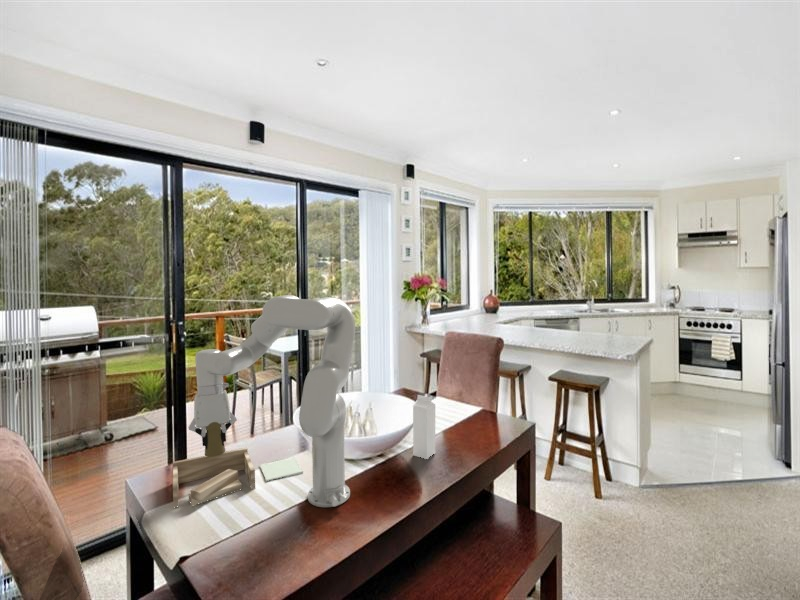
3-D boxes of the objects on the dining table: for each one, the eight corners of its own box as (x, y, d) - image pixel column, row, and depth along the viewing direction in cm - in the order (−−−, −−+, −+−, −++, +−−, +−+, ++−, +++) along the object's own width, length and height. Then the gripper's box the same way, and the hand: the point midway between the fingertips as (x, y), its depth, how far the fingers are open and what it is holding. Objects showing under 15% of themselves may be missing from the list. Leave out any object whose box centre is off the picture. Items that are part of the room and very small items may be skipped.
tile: (303, 473, 138) (303, 471, 138) (266, 481, 132) (266, 480, 132) (294, 458, 149) (294, 457, 149) (259, 466, 143) (259, 464, 143)
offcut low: (241, 491, 128) (241, 483, 128) (192, 508, 119) (192, 499, 119) (237, 486, 131) (236, 478, 131) (189, 502, 122) (188, 494, 122)
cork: (217, 457, 126) (215, 422, 126) (200, 456, 128) (197, 421, 127) (229, 448, 132) (227, 415, 132) (212, 448, 134) (210, 414, 133)
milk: (422, 449, 156) (422, 392, 154) (435, 454, 152) (435, 395, 151) (412, 455, 151) (412, 396, 149) (426, 460, 147) (426, 399, 146)
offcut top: (238, 478, 130) (237, 470, 130) (200, 501, 118) (200, 492, 118) (229, 476, 132) (228, 468, 132) (190, 498, 119) (190, 490, 119)
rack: (255, 488, 128) (254, 466, 128) (173, 508, 118) (172, 484, 117) (247, 466, 143) (246, 447, 142) (174, 483, 132) (173, 461, 131)
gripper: (237, 382, 136) (241, 436, 137) (180, 390, 128) (184, 447, 129) (240, 387, 129) (244, 443, 131) (180, 396, 121) (185, 456, 123)
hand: (214, 445), depth 130 cm, fingers closed on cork, 4 cm apart
